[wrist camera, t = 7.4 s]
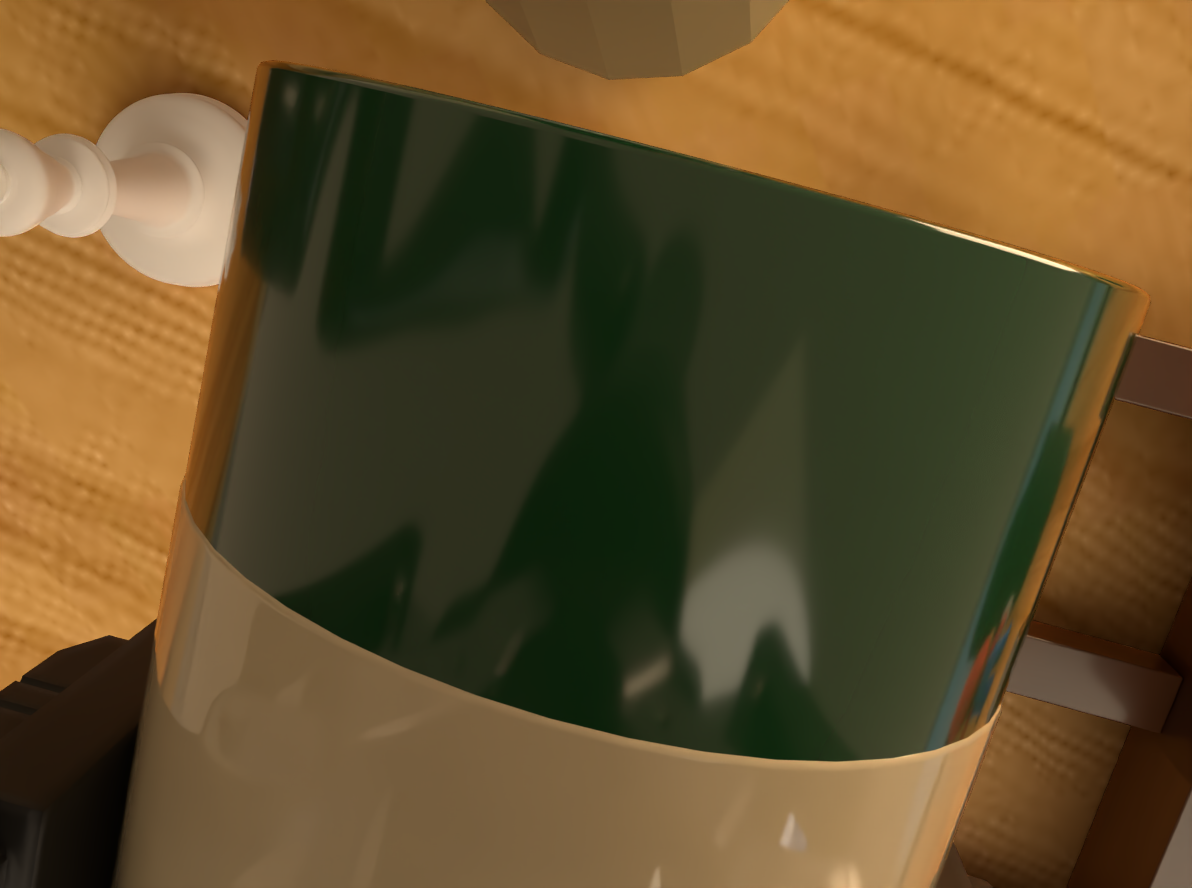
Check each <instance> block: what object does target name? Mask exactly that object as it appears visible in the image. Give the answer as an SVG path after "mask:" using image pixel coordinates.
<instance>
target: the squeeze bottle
mask: <svg viewBox="0 0 1192 888" xmlns="http://www.w3.org/2000/svg"><path fill="white" fill-rule="evenodd" d="M788 1H789V0H486V2H487V3H488V4H489V5H490V6H491V7H492V8H493V9H494V10H495V11H496V12H497V13H498V14H499V15H500V16H501V17H503V18H504V19H505V20H506V21H507V22H508V23H509V24H510V25H511V26H512V27H513V28H514V29H515V30H516V31H517V32H518V33H519V34H520V35H521V36H522V37H523V38H524V39H525V40H527V41H528V42H529V43H530V44H531V45H532V46H533V47H534V48H535V49H536V50H537V51H538V52H539V53H540V54H542V55H545V56H547V57H550V58H553V59H555V60H558V61H561V62H563V63H566V64H569V65H571V66H574V67H577V68H579V69H582V70H585V71H587V72H590V73H592V74H595V75H598V76H600V77H603V78H606V79H608V80H613V79H632V78H651V77H670V76H683V75H685V74H687V73H689V72H691V71H694V70H696V69H698V68H700V67H702V66H704V65H706V64H708V63H710V62H712V61H714V60H716V59H718V58H720V57H722V56H724V55H726V54H728V53H730V52H732V51H734V50H736V49H738V48H740V47H742V46H745V45H747V44H749V43H751V42H752V41H753V40H754V39H755V37H756V36H757V35H758V34H759V33H760V32H761V31H762V30H763V29H764V27H765V26H766V25H767V24H768V23H769V22H770V21H771V20H772V19H773V17H774V16H775V15H776V14H777V13H778V12H779V11H780V10H781V9H782V7H783V6H784V5H785V4H786V3H787V2H788Z"/></svg>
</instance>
